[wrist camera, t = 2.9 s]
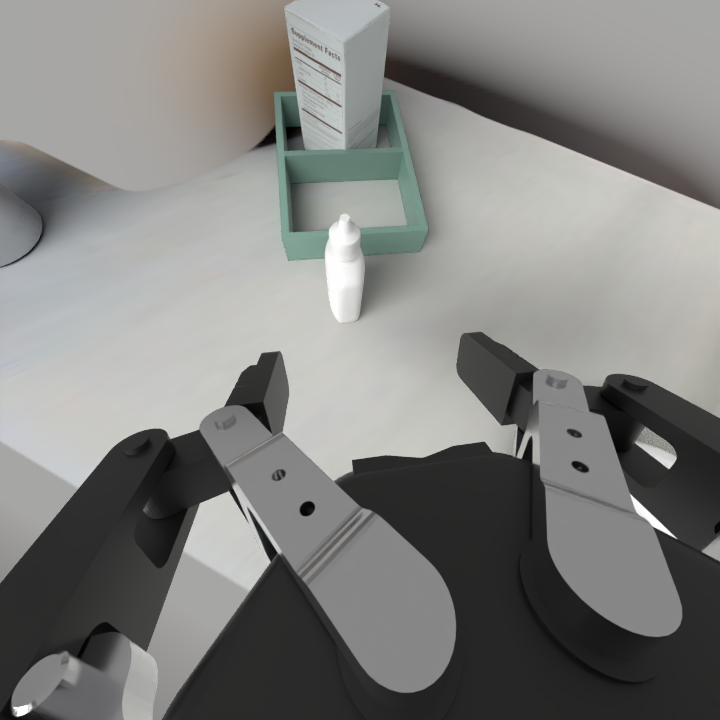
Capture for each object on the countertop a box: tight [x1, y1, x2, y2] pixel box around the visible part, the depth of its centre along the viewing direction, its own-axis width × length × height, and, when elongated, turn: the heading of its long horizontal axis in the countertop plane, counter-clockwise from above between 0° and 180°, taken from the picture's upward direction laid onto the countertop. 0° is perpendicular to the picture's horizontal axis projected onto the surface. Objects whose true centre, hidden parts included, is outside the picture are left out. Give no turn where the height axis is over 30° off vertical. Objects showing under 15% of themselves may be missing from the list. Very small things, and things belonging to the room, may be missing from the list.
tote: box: [274, 91, 428, 261], centre depth 33 cm, size 16×23×4 cm
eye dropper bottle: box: [325, 214, 365, 323], centre depth 24 cm, size 4×6×12 cm
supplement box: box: [284, 0, 390, 150], centre depth 30 cm, size 7×7×13 cm
